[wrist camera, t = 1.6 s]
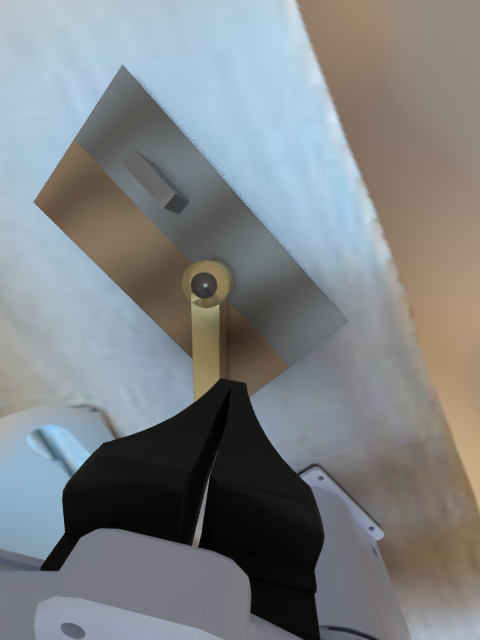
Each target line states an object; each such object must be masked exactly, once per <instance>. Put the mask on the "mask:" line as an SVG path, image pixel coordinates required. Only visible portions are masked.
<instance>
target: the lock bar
mask: <svg viewBox="0 0 480 640" xmlns="http://www.w3.org/2000/svg"><path fill="white" fill-rule="evenodd" d="M234 284H235V275H234V272H233V270H232V268H231V267H230V265H228V264H227V263H226V262H224V261H222V260H219V259H210V260H204V261H198V262H195V263H193V264H192V265H190V266H189V267H188V268H187V269H186V271H185V272H184V275H183V278H182V289H183V292H184V294H185V296H186V298H187V299H188V300H189V301H190V302H191V312H192V345H193V378H194V402H195V401H197V400H198V399H199V398H200V397H201V396H203V395H204V394H205V393H206V392H207V391H208V390H209V389H210V388H211V387H212V386H213V385H214V384H215V383H216V382H217V381H218V380H219V379H221V378H223V379H226V370H227V296H228V295H229V293H230V292H231V291H232V289H233V287H234Z"/></svg>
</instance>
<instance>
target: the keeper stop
mask: <svg viewBox="0 0 480 640" xmlns="http://www.w3.org/2000/svg"><path fill="white" fill-rule="evenodd" d="M122 164H123V165H124V167H125V168H126V169H127V170H128V171H129V172H130V173H131V174H132V175H133V176H134V177H135V178H136V179H137V180H138V182H139V183H140V184H141V185H142V186H143V187H144V188H145V189H146V190H147V191H148V192H149V193H150V194H151V195H152V197H153V198H154V199H155V200H156V201H157V202H158V203H159V204H160V205H161V206H162V207H163V208H164V209H167V210H169V211H172V212H174V213H177V214H180V213H181V211H182V210H183V209H184V208H185V207H186V206H187V204H188V203H189V201H188V200H187V199H186V198H185V197H184V196H183V195H182V194H181V192H180V191H179V190H178V189H177V188H176V187H175V186H174V185H173V184H172V183H171V181H170V180H169V179H168V178H167V177H166V176H165V175H164V174H163V173H162V172H161V171H160V169H159V168H158V167H157V166H156V165H155V164H154V163H153V162H151V161H150V160H149V159H147V158H146V157H145V156H143V155H142V154H141V153H139V152H138V151H137V150H135V149H134V148H133V149H132V151H131V152H130V153H129V155H128V156H127V158H126V159H125V160H124V162H123V163H122Z"/></svg>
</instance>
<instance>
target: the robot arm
mask: <svg viewBox="0 0 480 640" xmlns="http://www.w3.org/2000/svg"><path fill="white" fill-rule="evenodd" d="M217 452H218V453H217ZM216 455H217V456H216ZM215 458H216V459H215ZM214 461H215V462H214ZM213 463H214V465H213ZM212 466H213V468H212ZM211 469H212V471H211ZM210 472H211V473H210ZM209 475H210V479H209V486H208V493H207V500H206V506H205V513H204V520H203V527H202V533H201V538H200V542H199V546H198V548H197V547H193V546H192V543H193V539H194V534H195V530H196V526H197V522H198V518H199V514H200V509H201V505H202V501H203V497H204V493H205V489H206V485H207V482H208V478H209ZM319 476H321V477H319ZM62 503H63V515H64V525H65V534H64V535H63V536H62V538H61V539H60V541H59V542H58V543H57V545H56V546H55V548H54V549H53V551H52V552H51V553H50V555H49V556H48V557H47V559H46V560H42V559H38V558H34V557H31V556H27V555H23V554H19V553H15V552H11V551H7V550H2V549H0V640H411V637H410V633H409V630H408V627H407V624H406V621H405V619H404V616H403V613H402V610H401V608H400V605H399V602H398V600H397V597H396V594H395V591H394V589H393V586H392V583H391V581H390V578H389V575H388V573H387V570H386V567H385V564H384V562H383V559H382V556H381V554H380V551H379V548H378V545H377V543H376V541H377V540H379V539H382V538H383V537H384V533H383V530H382V529H381V528H380V527H379V526H378V525H377V524H376V523H375V522H374V521H373V520H372V519H371V518H370V517H369V516H368V515H367V514H366V513H365V512H364V511H363V510H362V509H361V508H360V507H359V506H358V505H357V504H356V503H355V502H354V501H353V500H352V499H351V498H350V497H349V496H348V495H347V494H346V493H345V492H344V491H343V490H342V489H341V488H340V487H339V486H338V485H337V484H336V483H335V482H334V481H333V480H332V479H331V478H330V477H329V476H328V475H327V474H326V473H325V472H324V471H323V470H322V469H321V468H320V467H317V466H315V467H312V468H311V469H309V470H307V471H306V472H304V473H302V474H301V475H299V476H298V475H297V474H296V473H295V472H294V471H293V470H292V469H291V468H290V466H289V465H288V464H287V463H286V462H285V461H284V460H283V459H282V457H281V456H280V455H279V453H278V452H277V451H276V450H275V448H274V447H273V446H272V444H271V443H270V441H269V439H268V438H267V436H266V435H265V433H264V431H263V429H262V428H261V426H260V424H259V422H258V419H257V417H256V415H255V413H254V410H253V407H252V405H251V402H250V399H249V395H248V390H247V384H246V383H244V382H239V381H233V380H228V379H223V378H221V379H219V380H218V381H217V382H216V383H215V384H214V385H213V386H212V387H211V388H210V389H209V390H208V391H207V392H206V393H205V394H204V395H203V396H201V397H200V398H199V399H198V400H197V401H195V402H194V403H193V404H191V405H190V406H189V407H187V408H186V409H184V410H183V411H181V412H180V413H178V414H177V415H175V416H173V417H172V418H170V419H168V420H166V421H164V422H162V423H160V424H158V425H156V426H153V427H151V428H149V429H146V430H144V431H141V432H138V433H135V434H133V435H130V436H126V437H123V438H119V439H116V440H112V441H109V442H105V443H103V444H102V445H101V446H100V447H99V448H98V449H97V450H96V451H95V452H94V453H93V454H92V455H91V456H90V457H89V458H88V459H87V460H86V461H85V462H84V464H83V465H82V466H81V467H80V468H79V469H78V471H77V472H76V473H75V474H74V475H73V476H72V478H71V479H70V480H69V481H68V482H67V484H66V486H65V488H64V490H63V497H62Z"/></svg>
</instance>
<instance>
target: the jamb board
mask: <svg viewBox="0 0 480 640" xmlns="http://www.w3.org/2000/svg"><path fill="white" fill-rule="evenodd" d="M133 148H134V149H135V150H137V151H138V152H139V153H141V154H142V155H143V156H145V157H146V158H147V159H149V160H150V161H151V162H153V163H154V164H155V165H156V166H157V167H158V168H159V169H160V171H161V172H162V173H163V174H164V175H165V176H166V177H167V178H168V179H169V180H170V181H171V183H172V184H173V185H174V186H175V187H176V188H177V189H178V190H179V191H180V192H181V194H182V195H183V196H184V197H185V198H186V199H187V200H188V201H189V203H188V204H187V206H186V207H185V208H184V209H183V210H182V211H181V213H180V214H177V213H174V212H172V211H169V210H167V209H164V208H163V207H162V206H161V205H160V204H159V203H158V202H157V201H156V200H155V199H154V198H153V197H152V195H151V194H150V193H149V192H148V191H147V190H146V189H145V188H144V187H143V186H142V185H141V184H140V183H139V182H138V180H137V179H136V178H135V177H134V176H133V175H132V174H131V173H130V172H129V171H128V170H127V169H126V168H125V167H124V165H123V164H122V163H123V162H124V160H125V159H126V158H127V156H128V155H129V153H130V152H131V151H132V149H133ZM34 203H35V204H36V205H37V206H38V207H39V208H40V209H41V210H42V211H43V212H44V213H45V214H46V215H47V216H48V217H49V218H50V219H51V220H52V221H53V222H54V223H55V224H56V225H57V226H58V227H59V228H60V229H61V230H62V231H63V232H64V233H65V234H66V235H67V236H68V237H69V238H70V239H71V240H72V241H73V242H74V243H75V244H76V245H77V246H78V247H79V248H80V249H81V250H82V251H84V252H85V253H86V254H87V255H88V256H89V257H90V258H91V259H92V260H93V261H94V262H95V263H96V264H97V265H98V266H99V267H100V268H101V269H102V270H103V271H104V272H105V273H106V274H107V275H108V276H109V277H110V278H111V279H112V280H113V281H114V282H115V283H116V284H117V285H118V286H119V287H120V288H121V289H122V290H123V291H124V292H125V293H126V294H127V295H128V296H129V297H130V298H131V299H132V300H133V301H134V302H135V303H136V304H137V305H138V306H139V307H140V308H141V309H142V310H143V311H144V312H145V313H146V314H147V315H149V316H150V317H151V318H152V319H153V320H154V321H155V322H156V323H157V324H158V325H159V326H160V327H161V328H162V329H163V330H164V331H165V332H166V333H167V334H168V335H169V336H170V337H171V338H172V339H173V340H174V341H175V342H176V343H177V344H178V345H179V346H180V347H181V348H182V349H183V350H184V351H185V352H186V353H187V354H188V355H189V356H190V357H191V358H192V359H193V345H192V312H191V302H190V301H189V300H188V299H187V298H186V296H185V294H184V292H183V289H182V278H183V275H184V272H185V271H186V269H187V268H188V267H189V266H190V265H192V264H193V263H195V262H198V261H204V260H210V259H219V260H222V261H224V262H226V263H227V264H228V265H230V267H231V268H232V270H233V272H234V275H235V284H234V287H233V289H232V291H231V292H230V293H229V295H228V296H227V370H226V379H228V380H233V381H239V382H244V383H246V384H247V390H248V395H249V397H250V396H251V395H253V394H254V393H255V392H257V391H258V390H259V389H261V388H262V387H263V386H264V385H266V384H267V383H268V382H270V381H271V380H272V379H274V378H275V377H276V376H278V375H279V374H280V373H282V372H283V371H284V370H285V369H287V368H288V367H289V366H291V365H292V364H293V363H295V362H296V361H297V360H299V359H300V358H301V357H303V356H304V355H305V354H306V353H308V352H309V351H310V350H312V349H313V348H314V347H316V346H317V345H318V344H320V343H321V342H322V341H323V340H325V339H326V338H327V337H329V336H330V335H331V334H333V333H334V332H335V331H337V330H338V329H339V328H341V327H342V326H343V325H344V324H346V323H347V322H348V321H347V320H346V319H345V317H344V316H343V315H342V314H341V313H340V312H339V311H338V309H337V308H336V307H335V306H334V305H333V304H332V303H331V302H330V300H329V299H328V298H327V297H326V296H325V295H324V294H323V292H322V291H321V290H320V289H319V288H318V287H317V286H316V284H315V283H314V282H313V281H312V280H311V279H310V278H309V276H308V275H307V274H306V273H305V272H304V271H303V270H302V268H301V267H300V266H299V265H298V264H297V263H296V262H295V260H294V259H293V258H292V257H291V256H290V255H289V254H288V253H287V251H286V250H285V249H284V248H283V247H282V246H281V245H280V243H279V242H278V241H277V240H276V239H275V238H274V237H273V235H272V234H271V233H270V232H269V231H268V230H267V229H266V227H265V226H264V225H263V224H262V223H261V222H260V221H259V219H258V218H257V217H256V216H255V215H254V214H253V213H252V211H251V210H250V209H249V208H248V207H247V206H246V205H245V204H244V202H243V201H242V200H241V199H240V198H239V197H238V196H237V194H236V193H235V192H234V191H233V190H232V189H231V188H230V186H229V185H228V184H227V183H226V182H225V181H224V180H223V178H222V177H221V176H220V175H219V174H218V173H217V172H216V170H215V169H214V168H213V167H212V166H211V165H210V164H209V162H208V161H207V160H206V159H205V158H204V157H203V156H202V155H201V153H200V152H199V151H198V150H197V149H196V148H195V147H194V145H193V144H192V143H191V142H190V141H189V140H188V139H187V137H186V136H185V135H184V134H183V133H182V132H181V131H180V129H179V128H178V127H177V126H176V125H175V124H174V123H173V121H172V120H171V119H170V118H169V117H168V116H167V115H166V113H165V112H164V111H163V110H162V109H161V108H160V107H159V106H158V104H157V103H156V102H155V101H154V100H153V99H152V98H151V96H150V95H149V94H148V93H147V92H146V91H145V90H144V88H143V87H142V86H141V85H140V84H139V83H138V82H137V80H136V79H135V78H134V77H133V76H132V75H131V74H130V72H129V71H128V70H127V69H126V68H125V67H124V66H123V64H122V66H121V68H120V69H119V71H118V72H117V74H116V75H115V77H114V78H113V80H112V81H111V83H110V85H109V86H108V88H107V89H106V91H105V92H104V94H103V95H102V97H101V99H100V100H99V102H98V103H97V105H96V106H95V108H94V109H93V111H92V112H91V114H90V116H89V117H88V119H87V120H86V122H85V123H84V125H83V126H82V128H81V129H80V131H79V133H78V134H77V136H76V137H75V139H74V140H73V142H72V143H71V145H70V147H69V148H68V150H67V151H66V153H65V154H64V156H63V157H62V159H61V160H60V162H59V164H58V165H57V167H56V168H55V170H54V171H53V173H52V174H51V176H50V177H49V179H48V181H47V182H46V184H45V185H44V187H43V188H42V190H41V191H40V193H39V194H38V196H37V198H36V199H35V201H34Z"/></svg>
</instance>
